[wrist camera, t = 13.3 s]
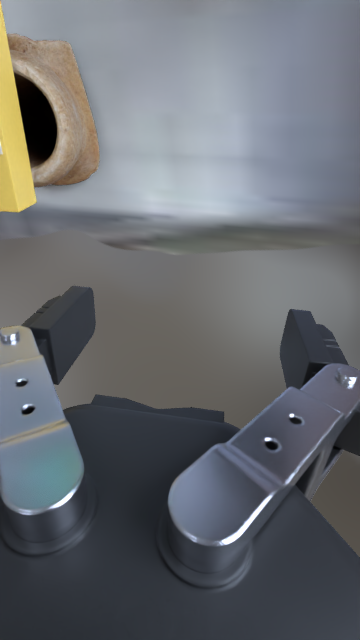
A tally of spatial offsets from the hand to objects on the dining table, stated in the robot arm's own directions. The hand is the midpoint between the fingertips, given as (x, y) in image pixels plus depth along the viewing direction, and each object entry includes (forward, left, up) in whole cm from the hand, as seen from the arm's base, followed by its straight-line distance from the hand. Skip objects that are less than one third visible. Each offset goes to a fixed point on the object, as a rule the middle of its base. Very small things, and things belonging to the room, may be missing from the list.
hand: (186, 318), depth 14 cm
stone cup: (-8, -19, -32) cm, 38 cm away
